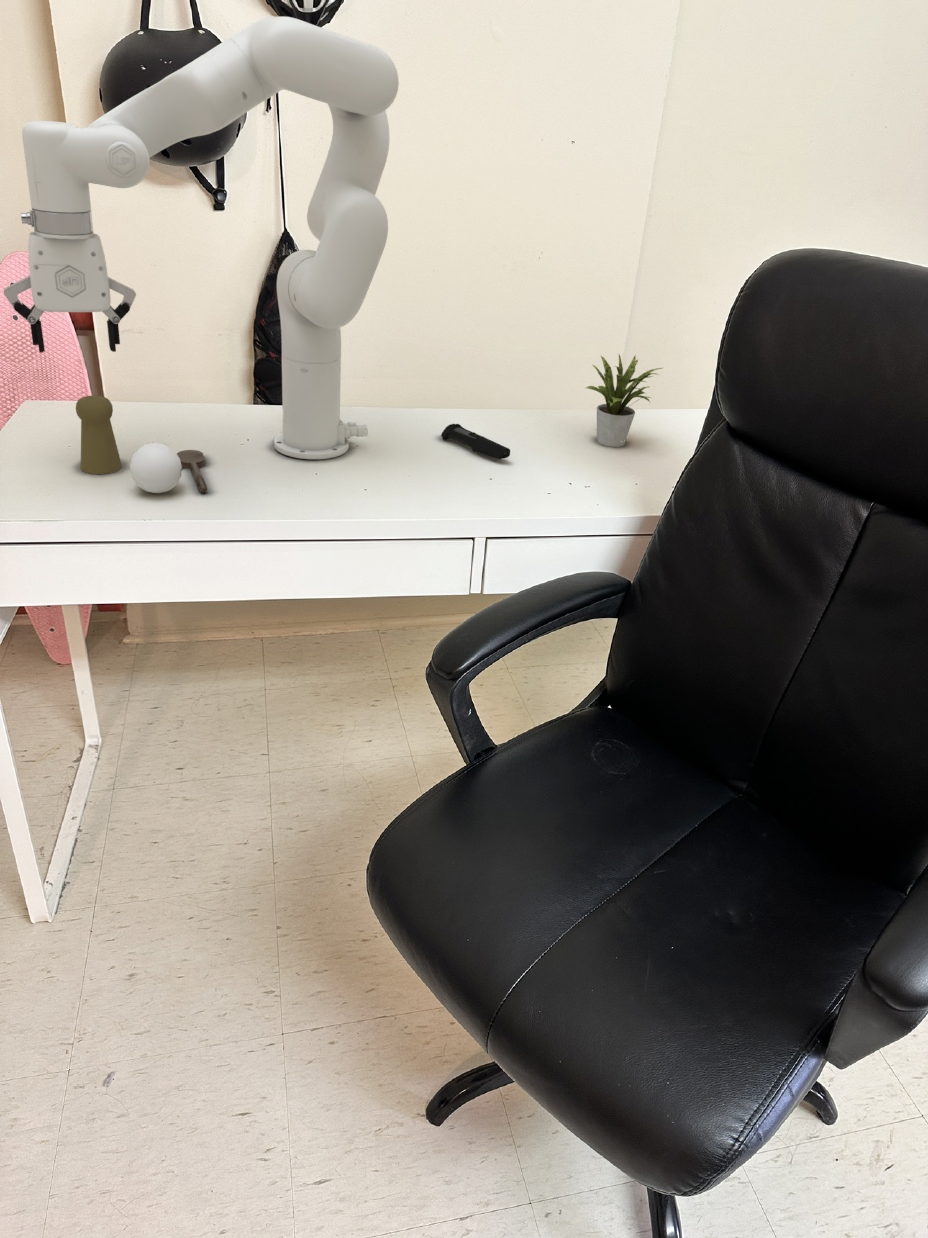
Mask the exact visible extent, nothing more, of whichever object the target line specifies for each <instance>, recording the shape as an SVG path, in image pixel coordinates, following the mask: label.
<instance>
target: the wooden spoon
mask: <svg viewBox="0 0 928 1238" xmlns="http://www.w3.org/2000/svg"><path fill="white" fill-rule="evenodd" d="M176 454H177V455H178V457H179V458H180V461H181V465H182V466H183V469H189V470H190V471H191V473H192V475H193V478H194V480H195V483H196V485H197V487H198V490H199V492H200V493H201V494H206V493H207V492H208V490H209V489H208V486H207V484H206V482H205V479H204V477H203V474H202V471H201V469H200V468H203V467H204V466H206V457H205V455H204V452H202V451H200V450H197V449H196V450H195V449H184V450H180V451H178V452H176Z"/></svg>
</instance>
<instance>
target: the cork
mask: <svg viewBox="0 0 928 1238" xmlns="http://www.w3.org/2000/svg"><path fill="white" fill-rule="evenodd" d="M113 411H114V409H113V404H112V401H110V399H109V398H108V397H105V396H102V395H87V396H83V397H80V398H79V399H78V400H76V404H75V413H76V416H77V417H78V418H79V419H80V470H81V471H82V472H83V473H86V474H90V475H107V474H108V475H109V474H113V473H116V472H118V471H120V470H121V469H122V467H123V466H122V465H123V464H122V462H121V461H122V460H121V457H120V453H119V449H118V444H117V441H116V438H115V437H116V436H115V433H114V429H113V425H112V421H111V418H112V417H113Z"/></svg>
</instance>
